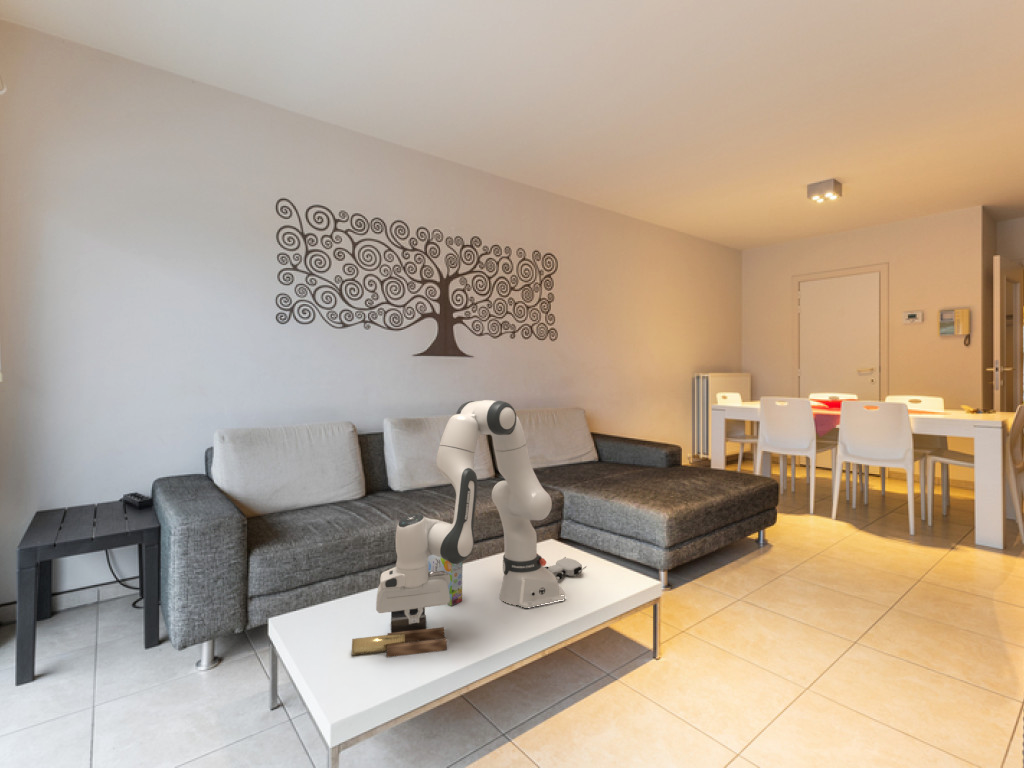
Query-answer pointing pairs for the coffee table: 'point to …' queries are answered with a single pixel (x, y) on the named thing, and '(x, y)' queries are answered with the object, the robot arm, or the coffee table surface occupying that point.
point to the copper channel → (421, 645)
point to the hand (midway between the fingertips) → (414, 622)
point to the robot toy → (565, 568)
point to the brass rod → (376, 643)
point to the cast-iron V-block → (406, 621)
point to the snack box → (455, 576)
